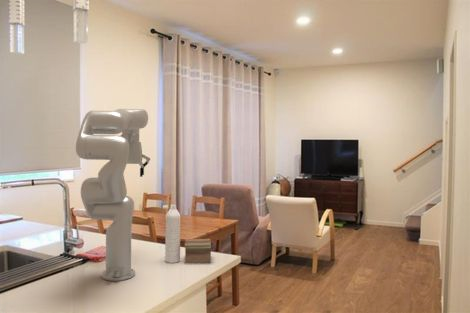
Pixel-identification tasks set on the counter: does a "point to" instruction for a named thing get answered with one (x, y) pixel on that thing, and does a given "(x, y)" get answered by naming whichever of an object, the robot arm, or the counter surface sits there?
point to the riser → (198, 251)
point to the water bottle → (172, 235)
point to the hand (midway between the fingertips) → (130, 176)
